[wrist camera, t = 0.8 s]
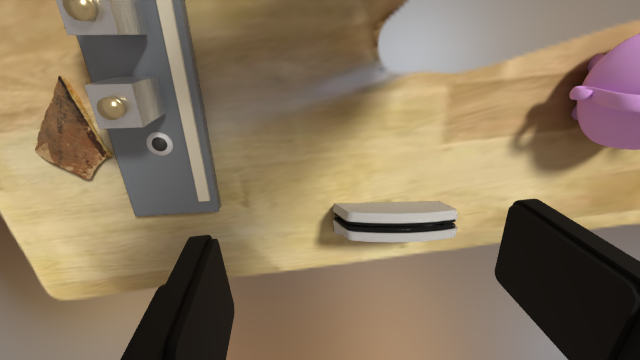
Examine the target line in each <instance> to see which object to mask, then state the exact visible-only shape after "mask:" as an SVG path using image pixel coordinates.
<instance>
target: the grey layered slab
mask: <svg viewBox="0 0 640 360" xmlns="http://www.w3.org/2000/svg"><path fill="white" fill-rule="evenodd" d="M333 212H335V214H336V215H337V216H338V217H335V220H333V224H334V233H335V234H342V235H343V236H344V237H345V238H346V239H348V240H352V241H365V242H420V241H432V240H440V239H447V238H452V237H455V235H456V231H457V227H456V226H455V224H454V223H452V222H455V219H457V218H458V216H457V211H456V209H455V208H453V207H451V206H449V205H447V204H444V203H442V202H440V201H419V202H371V203H334V207H333Z"/></svg>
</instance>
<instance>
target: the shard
mask: <svg viewBox="0 0 640 360" xmlns="http://www.w3.org/2000/svg"><path fill="white" fill-rule="evenodd" d="M37 140H38V143H37V146H36V148H35V151H36V153H37V154H38V155H39V156H41V157H43V158H44V159H46V160H47V161H49V162H50V163H53V164H55V165H57V166H59V167H62V168H64V169H66V170H68V171H70V172H73V173H75V174H77V175H79V176H80V177H83V178H85V179H91V177H92V175H93V173H94V171H95V170H96V168H97V166H98V165H99V164H100V163H101V162H102V161H103V160H105V159H107V158H110V157H111V156H112V153H111V151H110V150H109V149H108V148H107V147H106V145H105V144H104V143H103V141H102V140H101V137H100V136H99V135H98V134H97V132H96V130H95V128H94V125H93V123H92V121H91V119H90V117H89V115H88V113H87V112H86V109H85V108H84V106H83V104H82V102H81V100H80V98H79V97H78V95H77V94H76V92H75V91H74V90H73V89H72V87H71V85H70V84H69V83H68V82H67V81H66V80H65V79H63V78H62V77H61V76H59V77H58V81H57V84H56V87H55V89H54V96H53V98H52V100H51V103H50V105H49V107H48V109H47V111H46V114H45V117H44V120H43V121H42V124H41V129H40V131H39V134H38V139H37Z"/></svg>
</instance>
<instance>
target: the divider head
mask: <svg viewBox="0 0 640 360" xmlns="http://www.w3.org/2000/svg"><path fill="white" fill-rule="evenodd" d="M85 88H86V91H87V94H88V97H89V100H90V103H91V106H92V109H93V112H94V115H95V118H96V121H97V124H98V127H99V129H108V128H137V127H144V126H146V125H148V124H149V123H151V122H152V121H154V120H155V119H157V118H159V117H160V116H162V115H163V114H165V113H166V111H165V106H164V102H163V98H162V93H161V89H160V85H159V80H158V76H128V77H115V78H111V79H107V80H103V81H99V82H95V83H90V84H86V85H85Z"/></svg>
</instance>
